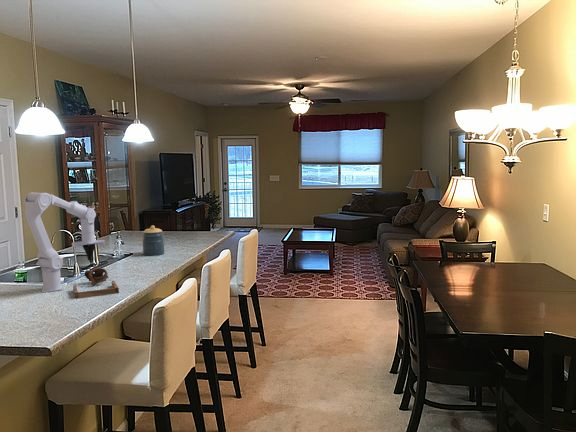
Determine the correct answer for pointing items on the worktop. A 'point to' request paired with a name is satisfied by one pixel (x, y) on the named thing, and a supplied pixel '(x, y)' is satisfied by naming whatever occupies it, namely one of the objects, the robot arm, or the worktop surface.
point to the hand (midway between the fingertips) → (89, 260)
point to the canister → (153, 242)
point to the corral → (96, 291)
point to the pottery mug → (96, 275)
